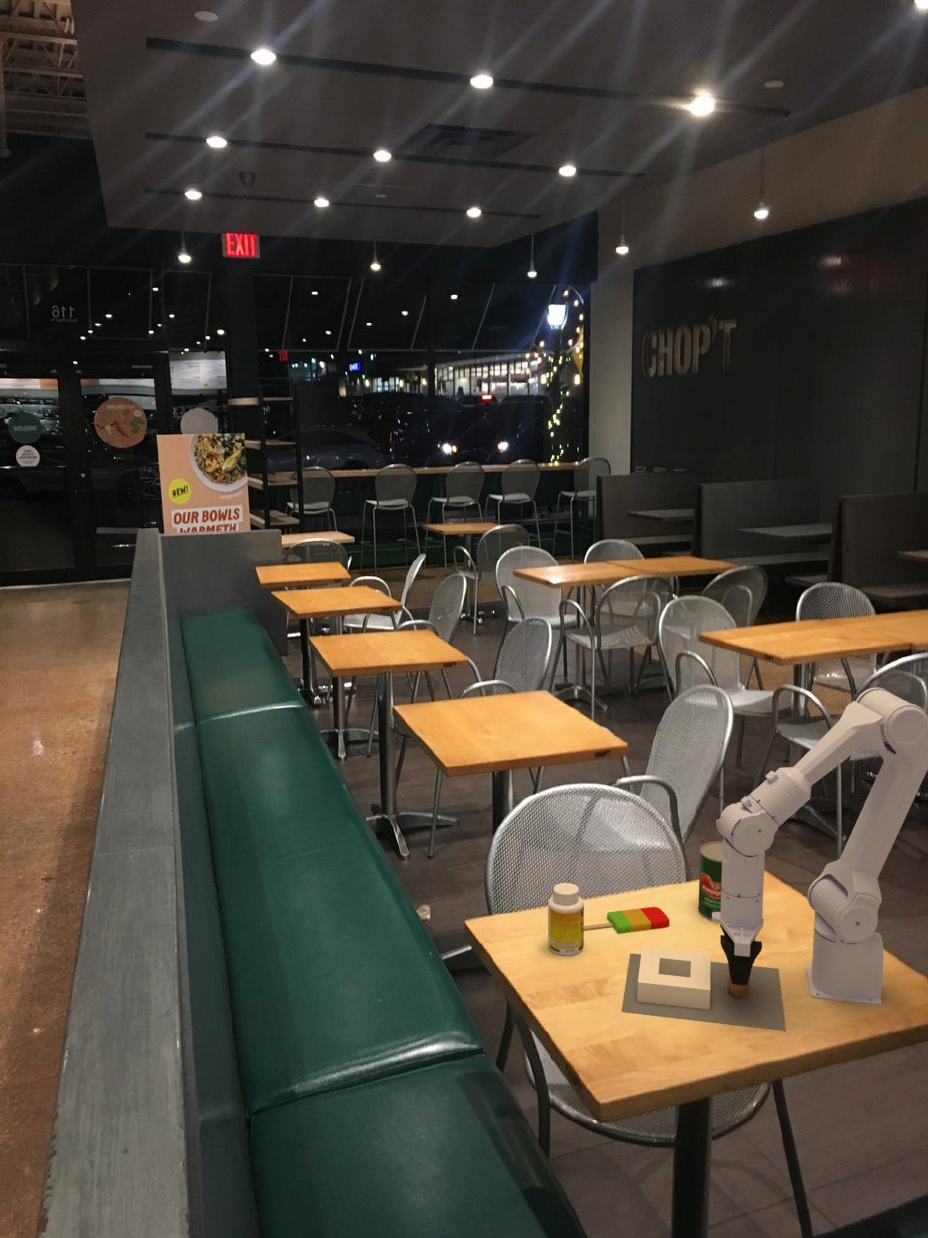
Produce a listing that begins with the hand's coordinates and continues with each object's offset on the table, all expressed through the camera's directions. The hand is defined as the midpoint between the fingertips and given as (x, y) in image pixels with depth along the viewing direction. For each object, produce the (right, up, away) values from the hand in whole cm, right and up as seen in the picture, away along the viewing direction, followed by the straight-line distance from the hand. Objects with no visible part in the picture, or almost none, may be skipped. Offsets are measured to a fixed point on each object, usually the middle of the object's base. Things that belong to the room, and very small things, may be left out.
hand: (738, 977), depth 145 cm
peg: (0, -3, 0) cm, 3 cm away
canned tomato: (+4, +2, +25) cm, 25 cm away
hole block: (-9, -2, +3) cm, 9 cm away
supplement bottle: (-23, -1, +14) cm, 27 cm away
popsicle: (-13, 0, +21) cm, 25 cm away
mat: (-5, -3, +2) cm, 6 cm away
